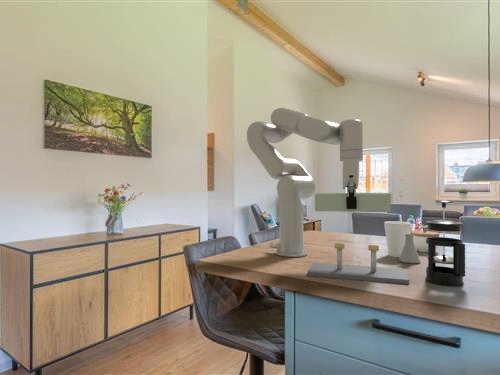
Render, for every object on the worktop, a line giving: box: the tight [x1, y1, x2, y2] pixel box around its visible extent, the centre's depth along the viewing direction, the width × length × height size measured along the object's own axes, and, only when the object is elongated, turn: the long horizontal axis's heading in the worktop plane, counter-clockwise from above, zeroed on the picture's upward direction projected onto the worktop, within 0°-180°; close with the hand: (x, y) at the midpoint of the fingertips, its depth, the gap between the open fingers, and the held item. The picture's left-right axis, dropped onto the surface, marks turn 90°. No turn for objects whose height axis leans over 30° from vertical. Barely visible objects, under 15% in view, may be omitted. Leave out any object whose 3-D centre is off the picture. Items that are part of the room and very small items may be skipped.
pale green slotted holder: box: [314, 192, 392, 213], centre depth 113 cm, size 24×7×6 cm, turn 73°
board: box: [307, 243, 410, 285], centre depth 102 cm, size 28×13×9 cm, turn 72°
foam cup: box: [383, 220, 412, 258], centre depth 129 cm, size 10×9×13 cm
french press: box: [425, 200, 466, 287], centre depth 93 cm, size 12×9×23 cm
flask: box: [398, 233, 421, 264], centre depth 119 cm, size 7×7×10 cm
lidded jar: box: [410, 228, 440, 253], centre depth 139 cm, size 11×11×9 cm
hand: (351, 207), depth 113 cm, fingers closed on pale green slotted holder, 7 cm apart
